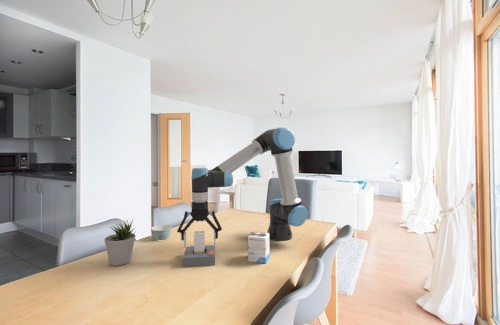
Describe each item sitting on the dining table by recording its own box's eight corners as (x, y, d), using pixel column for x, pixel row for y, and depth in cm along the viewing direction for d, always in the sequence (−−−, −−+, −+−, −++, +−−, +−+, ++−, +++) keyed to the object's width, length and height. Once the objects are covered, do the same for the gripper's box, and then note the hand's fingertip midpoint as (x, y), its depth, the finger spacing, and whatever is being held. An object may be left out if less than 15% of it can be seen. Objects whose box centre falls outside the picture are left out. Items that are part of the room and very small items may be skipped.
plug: (204, 255, 118) (204, 230, 118) (204, 259, 114) (204, 233, 114) (194, 256, 118) (194, 231, 118) (194, 260, 113) (194, 234, 113)
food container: (155, 243, 139) (155, 231, 139) (147, 238, 148) (147, 227, 148) (175, 238, 147) (175, 227, 147) (167, 234, 156) (167, 223, 156)
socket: (214, 253, 124) (214, 244, 124) (215, 265, 110) (215, 254, 110) (186, 254, 122) (186, 245, 122) (182, 267, 108) (182, 256, 108)
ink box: (270, 256, 120) (270, 229, 120) (265, 263, 112) (265, 234, 112) (253, 254, 123) (253, 227, 122) (247, 261, 115) (247, 232, 114)
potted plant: (103, 271, 104) (103, 224, 104) (105, 259, 116) (105, 217, 116) (136, 265, 110) (136, 220, 110) (134, 255, 122) (134, 214, 122)
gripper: (226, 199, 121) (226, 242, 122) (173, 200, 118) (173, 244, 118) (227, 201, 114) (227, 247, 114) (170, 203, 110) (170, 250, 111)
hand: (199, 246), depth 116 cm, fingers open, 13 cm apart
